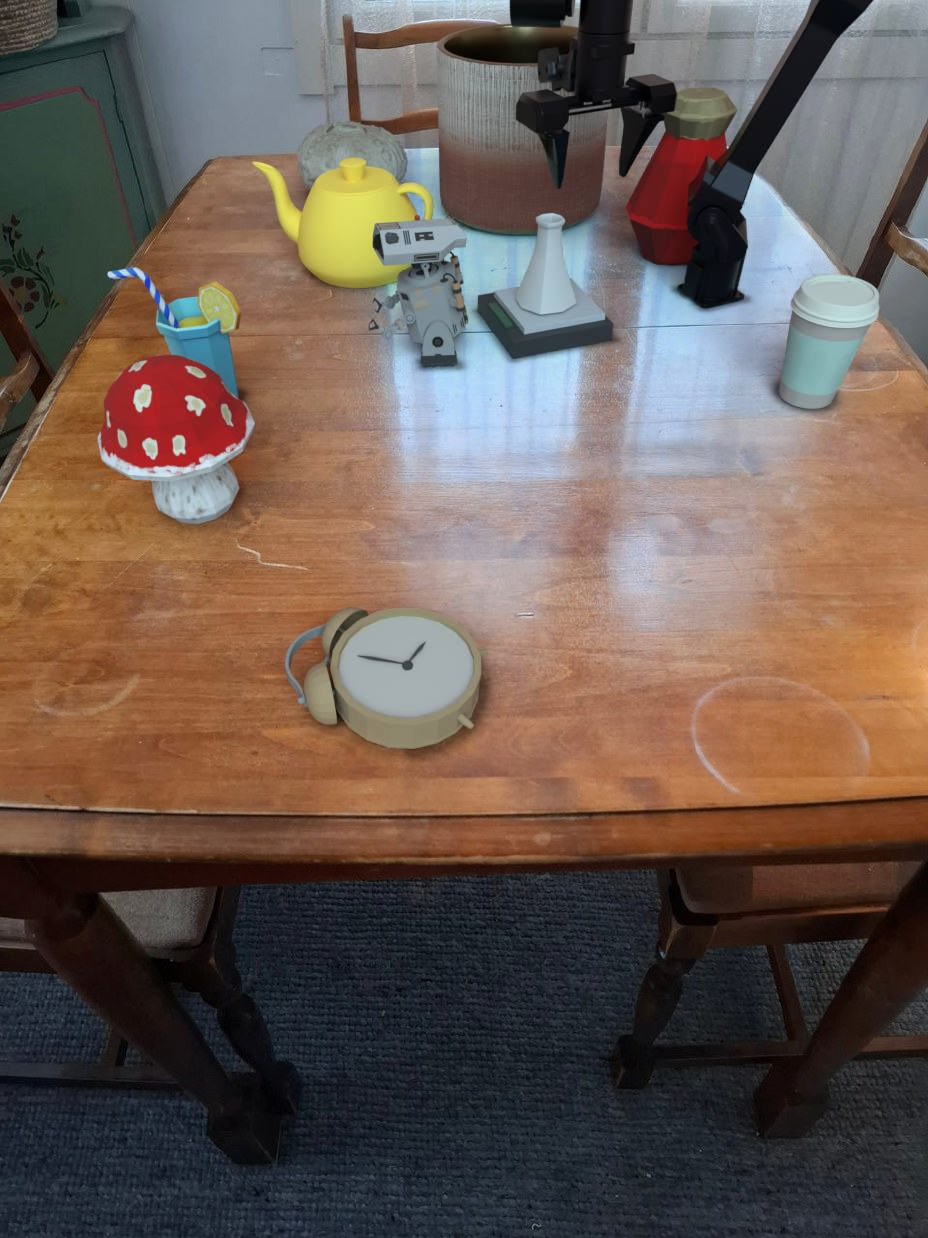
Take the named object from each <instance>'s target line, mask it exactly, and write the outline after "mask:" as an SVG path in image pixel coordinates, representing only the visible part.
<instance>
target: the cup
mask: <svg viewBox="0 0 928 1238" xmlns="http://www.w3.org/2000/svg"><path fill="white" fill-rule="evenodd" d="M107 277H108V279H109V280H110V281H112V280H119V279H128V278H129V279H130V278H135V277H136V278H137V279H139V280H141V282H142V283H143V285H144V286H145V288H146V290H147V291H148V292H149V294H150V295H151V297H152V298H153V300H154V302H155V303H156V305H157V306H158V309H157V310H156V317H155V320H156V321H155V326H156V328H157V330H158V332H159V334H161V335H163V338H164V340H165V343H166V345H167V347H168V350H169V353H170V355H179V356H183V357H186V358H190V359H192V360H194V361H196V362H199V363H201V364H203V365H206V366H207V367H209V368H210V369H211V370H213V371H214V372H216V373H217V374H219V376H220V377H221V379H222V380H223V382H224V383H225V385H226V386H227V388H228V390H229V391H230V392H231V393H232V394H233V395H235V396H236V397H238V398H239V389H238V384H237V383H238V382H237V378H236V370H235V364H234V358H233V352H232V346H231V338H230V334H229V333H231V332H235V331H238V330H240V324H241V317H242V310H241V309H240V306H239V304H238V302H237V301H236V298H235V297H234V294H233V293H232V292H231V290H229V289H227V288H226V287H224V286H222V284H219V282H217V281H213V282H210V283H208V284H204V285H202V286H200V287H198V293H197V294H198V295H197V296H190V297H182V298H177V299H175V300H173V301H171V302H169V303H167V302H166V300H165V299H164V297H163V296H162V294H161V293H160V291H159V290H158V288H157V286H156V285H155V284H154V282H153V280H152V279H151V277H150V276H149V275H148V274H147V273H146V272H145V271H144V270H141V269H140V268H139V267H137V266H136V267H130V268H123V269H117V270H111V271H107ZM239 399H240V398H239Z"/></svg>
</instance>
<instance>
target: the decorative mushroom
mask: <svg viewBox="0 0 928 1238" xmlns="http://www.w3.org/2000/svg"><path fill="white" fill-rule="evenodd" d="M103 411H104V412H103V413H104V421H103V424H102V427H101V429H100V431H99V434H98V436H97V444H98V447H99V454H100V458H101V461H102V463H104V464H105V465H106V466H108V467H109V468H111V469H112V470H115V471H116V472H118V473H120V474H122V475H123V476H126V477H127V478H128V479H130V480H132V481H133V480H135V481H151V491H152V494H153V499H154V502H155V505H156V507H157V510H158V511H160V512H161V513H162V514H165V515H166V516H168V517H170V518H172V519H173V520H175V521H177V522H179V523H181V524H190V525H200V524H204V523H207V522H211V521H214V520H217V519H219V518H220V517H221V516H222V515H225V513H227V512H228V511H229V510H230V508H231V507H232V505H233V503H234V501H235V498H236V497H237V495H238V493H239V490H240V486H239V481H238V479H237V476H236V474H235V471H234V469H233V467H232V466H231V464H230V463H229V461H232V460H233V458H235V457H237V456H239V455H240V454H241V453H242V452H244V449H245V448H246V445H247V444H248V442H249V440H250V438H251V436H252V434H253V432H254V430H255V425H256V422H255V419H254V418H253V416H252V413H251V411H250V409H249V407H248V404H247V403H246V402H245V401H244V400H242V399H241V398H238V397H236V396H235V395H233V394H232V393H231V392H230V391H229V390H228V388H227V386H226V385H225V383H224V382H223V380H222V379H221V377H220V376H219V374H217V373H216V372H214V371H213V370H211V369H210V368H209V367H207V366H206V365H203V364H201V363H199V362H196V361H194V360H192V359H190V358H186V357H183V356H179V355H171V354H157V355H153V356H148V357H143V358H141V359H139V360H137V361H135V362H132V363H131V364H130V365H128V366H127V367H125V368H124V369H123V371H121V372H120V373H119V374H118V375H117V377H116V379H114V381H113V382H112V383H111V385H110V386H109V389H108V391H107V393H106V395H105V398H104V399H103Z"/></svg>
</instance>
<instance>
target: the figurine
mask: <svg viewBox="0 0 928 1238" xmlns="http://www.w3.org/2000/svg"><path fill="white" fill-rule="evenodd" d="M414 219H415V220H412V221H401V222H386V223H375V226H374V231H373V236H372V237H373V241H372V243H373V248H374V250H375V252H376V254H377V256H378V257H379V259H380V261H381V262H382V264H383V265H384V266H388V265H401V264H411V265H412V266H411V267H409V268H408V269H406V270H403V271H401V272H400V273H399V274H398V278H397V281H396V283H397V284H396V290H395V293H394V294H393V295H392V296H390V295H387V296H386V297H385V299H384V301H383V302H380V301H379V300H378V299H377V298H376V297H373V301H372V304H374V303H376V304H377V305H378V308H377V309H373V310H374V311H375V313H377V314H379V313H380V311H381V309H382V307H383V308H384V307H385V308H387V309H390V310H393V309H394V308H395V307H396V304H398V303H400V306H401V310H402V314H403V316H402V317H396V318H395V319H394V321H393V323H391V325H390V326H385V327H383V326H381V325H380V324H378V323H377V322H376V321H375V319H374V318H372V319H371V320H370V322H369V323H368V332H370V331H374V330H378V331H380V332H381V337H382V338H383V339H384V340H386V341H390V340H391V339H393V337H394V335H395V334H396V333H398V332H399V331H402V330H404V329H405V328H406V329H407V333H408V337H409V340H410V341H412V342H414V343H415V342H416V343H417V344H418V343H419V344H422V351H421V353H420V366H422V365H423V367H424V368H429V367H431V368H435V367H436V366H437V365H440V366H442V367H443V368H445V367H447V366H448V367H454V366H455V365H458V355H457V350H456V349H455V341H454V338H456V337H457V336H458V335H459V334H460V333H462V332H464V331H465V330H466V329H467V325H468V324H469V317H468V312H467V308H466V304H465V298H464V295H463V289H462V285H463V284H464V282H465V281H464V276H463V273H462V270H461V264H460V260H459V257H458V255H457V254H454V253H453V252H452V251H453V250H454V249H457V248H466V247H467V243H468V242H467V241H468V236H467V233H466V232H465V231H464V230H463V229H462V227H461V226H460V225H459V224H458V223H457V222H456V220H455V219H454V218H453V217H449V218H432V219H431V220H424V219H421V217H420V215H419V214H417V215H415V217H414ZM449 254H451V256H450V257H449V260H450V261H449V260H445V258H446V257H447V256H448V255H449ZM372 323H373V325H374V326H372V327H371V324H372Z"/></svg>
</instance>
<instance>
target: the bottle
mask: <svg viewBox="0 0 928 1238" xmlns="http://www.w3.org/2000/svg"><path fill="white" fill-rule="evenodd" d="M677 93H678V96H677V102H676V109H675V111H674V112H667V113H662V114H665V115H666V116H665V120H664V121H663V123H664V128H665V131H664V132H663V135H662V136H661V139H660V141H659V142H658V144H657V146H656V148H655V150H654V152H653V153H652V155H651V157H650V159H649V160H648V163H647V165H646V167H645V168H644V170H643V172H642V174H641V176H640V178H639V180H638V182H637V184H636V185H635V187H634V189H633V191H632V193H631V195H630V196H629V198H628V200H627V202H626V204H625V206H624V208H625V211H626V214H627V217H628V220H629V222H630V225H631V228H632V230H633V233H634V236H635V239H636V242H637V244H638V246H639V250H640V253H641V256H642V258H643V260H646V261H648V262H650V263H652V264H655V265H658V266H667V267H668V266H670V267H673V266H676V267H677V266H687V263H688V260H690V259H691V254H692V248H693V246H697V245H698V243H699V241H697V240H696V239H694V238H693V237H692V236H691V234H690V233H689V231H688V227H687V209H688V206H687V200H688V185H689V184H690V183H691V182H692V181H693V180H694V179H695V178H696V177H697V175H698V173H699V171H700V169H701V166H702V164H703V161H704V159H705V157H706V156H709V157H710V158H711V159H713V160H714V161H716V160H717V159H718V158H719V157H720V156H721V155H722V154H723V153H724V152H725V151H726V150H727V149H728V145H727V139H726V138H727V137H726V132H727V130H728V128H730V127H729V126H730V125H731V123H732V121H733V120H734V118H735V116H736V114H737V113H738V112H739V110H738V108H737V107H736V105H735V104H734V102H733V101H732V100H731V98H730V96H728V94H727V93H726V91H724V90H723V89H719V88H717V87H706V86H700V87H689V88H684V89H681V90H679V91H677Z"/></svg>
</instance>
